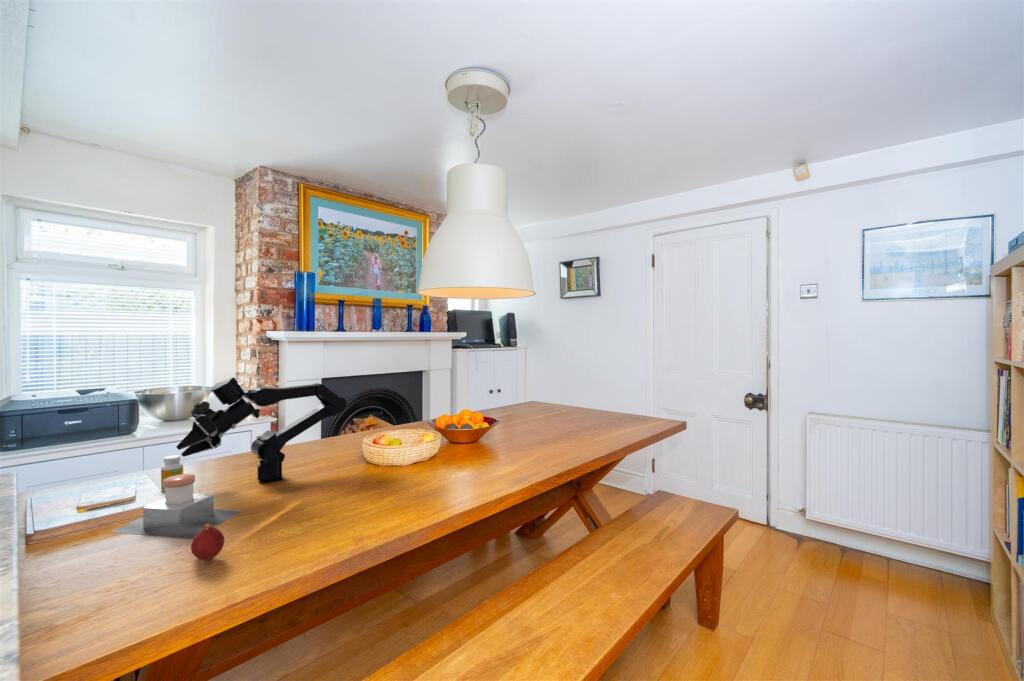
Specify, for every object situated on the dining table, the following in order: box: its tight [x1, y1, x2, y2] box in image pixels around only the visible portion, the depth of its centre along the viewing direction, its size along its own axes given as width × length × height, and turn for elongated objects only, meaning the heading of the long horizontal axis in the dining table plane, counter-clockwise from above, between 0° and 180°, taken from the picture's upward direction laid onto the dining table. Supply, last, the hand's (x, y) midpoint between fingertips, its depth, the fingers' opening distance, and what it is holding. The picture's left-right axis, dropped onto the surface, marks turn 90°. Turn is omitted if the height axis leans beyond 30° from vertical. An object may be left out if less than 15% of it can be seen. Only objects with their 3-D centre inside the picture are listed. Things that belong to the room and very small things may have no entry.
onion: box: [190, 524, 225, 563], centre depth 95 cm, size 6×6×8 cm
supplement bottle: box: [160, 454, 184, 492], centre depth 137 cm, size 5×5×10 cm
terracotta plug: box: [163, 473, 196, 505], centre depth 112 cm, size 6×6×7 cm
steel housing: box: [142, 492, 215, 531], centre depth 112 cm, size 10×10×5 cm
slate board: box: [108, 508, 243, 540], centre depth 112 cm, size 16×22×1 cm
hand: (179, 452), depth 128 cm, fingers open, 9 cm apart
